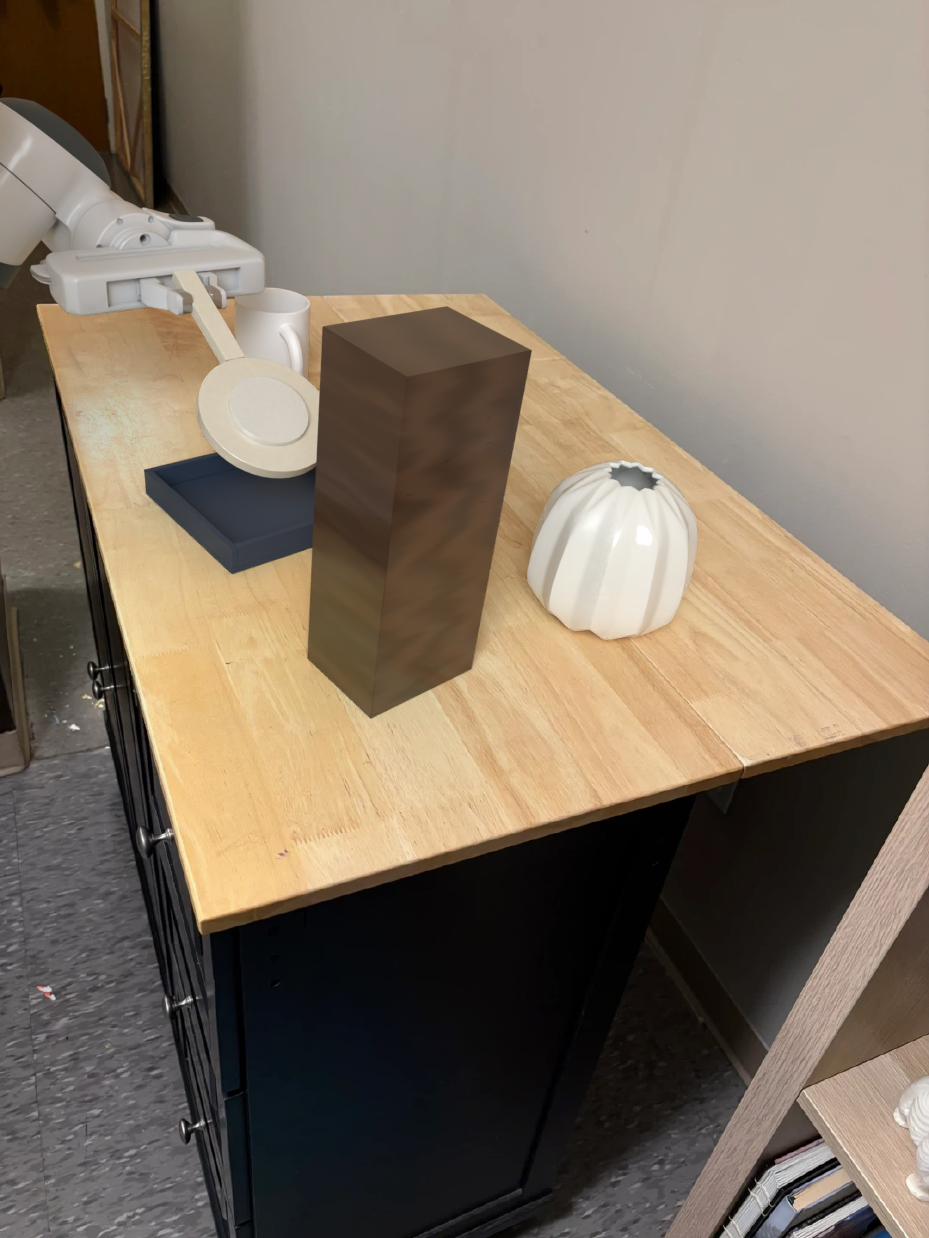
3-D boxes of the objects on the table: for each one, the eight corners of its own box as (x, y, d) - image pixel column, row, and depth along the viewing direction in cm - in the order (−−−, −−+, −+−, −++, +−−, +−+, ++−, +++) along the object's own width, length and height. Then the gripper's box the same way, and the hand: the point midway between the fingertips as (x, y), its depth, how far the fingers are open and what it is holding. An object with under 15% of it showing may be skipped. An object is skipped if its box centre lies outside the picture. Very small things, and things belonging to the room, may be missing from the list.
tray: (231, 574, 77) (231, 549, 75) (145, 493, 85) (143, 469, 84) (382, 524, 87) (384, 500, 85) (292, 456, 95) (292, 433, 93)
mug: (331, 412, 104) (336, 324, 98) (261, 420, 100) (262, 328, 94) (291, 370, 112) (294, 285, 106) (225, 375, 108) (224, 288, 102)
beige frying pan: (236, 494, 76) (242, 482, 75) (118, 287, 80) (121, 272, 78) (352, 460, 83) (359, 449, 82) (239, 271, 87) (243, 257, 85)
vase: (704, 634, 80) (755, 501, 72) (583, 676, 73) (623, 535, 65) (605, 552, 88) (640, 425, 80) (487, 583, 81) (513, 448, 73)
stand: (370, 719, 66) (406, 377, 50) (306, 658, 70) (322, 326, 54) (471, 669, 72) (532, 350, 56) (407, 616, 76) (447, 306, 60)
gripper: (16, 229, 81) (85, 280, 74) (221, 215, 93) (298, 257, 86) (27, 300, 85) (93, 355, 78) (222, 278, 97) (296, 323, 90)
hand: (203, 303), depth 82 cm, fingers closed on beige frying pan, 2 cm apart
